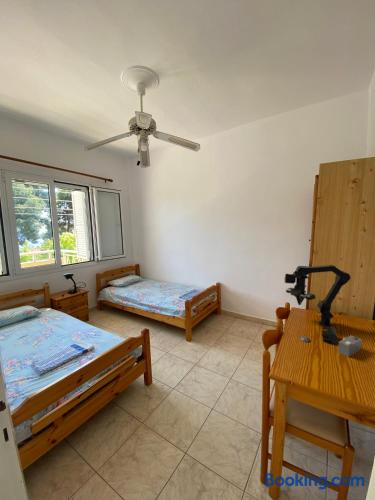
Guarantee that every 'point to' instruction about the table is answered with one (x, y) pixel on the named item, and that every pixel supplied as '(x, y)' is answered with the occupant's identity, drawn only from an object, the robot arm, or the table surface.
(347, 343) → the camera body
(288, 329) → the table surface
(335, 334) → the end cap
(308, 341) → the lens cap
